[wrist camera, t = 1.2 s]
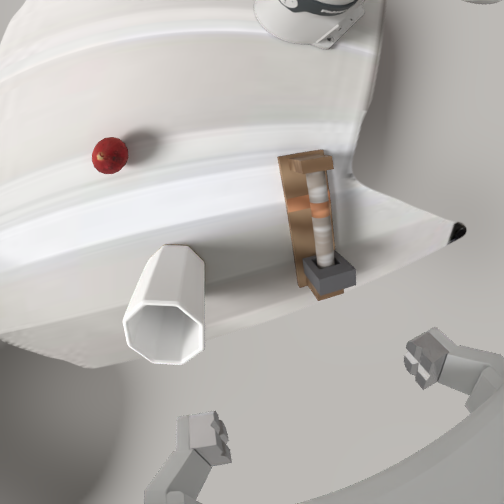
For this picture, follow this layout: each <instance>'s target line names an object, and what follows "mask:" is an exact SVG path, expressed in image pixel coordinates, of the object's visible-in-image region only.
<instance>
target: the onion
mask: <svg viewBox="0 0 504 504" xmlns="http://www.w3.org/2000/svg"><path fill="white" fill-rule="evenodd" d="M127 159H128V149H127V147H126V146H125V144H124V143H123V142H122V141H121V140H120V139H118V138H114V137H110V138H104V139H103V140H101V141H100V142H98V144H97V145H96V146H95V148H94V150H93V153H92V162H93V164H94V167H95V168H96V169H97V170H98V171H99V172H101V173H104V174H114V173H116V172H118V171H120V170H121V169H122V168H123V167H124V165H125V164H126V162H127Z"/></svg>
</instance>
